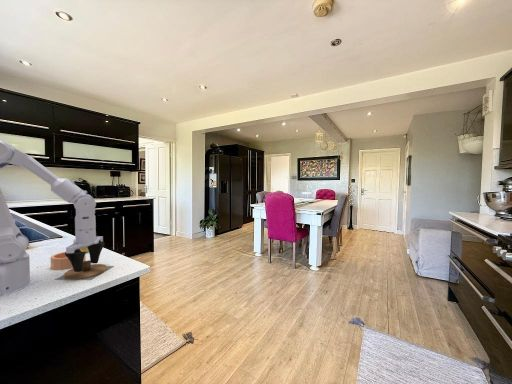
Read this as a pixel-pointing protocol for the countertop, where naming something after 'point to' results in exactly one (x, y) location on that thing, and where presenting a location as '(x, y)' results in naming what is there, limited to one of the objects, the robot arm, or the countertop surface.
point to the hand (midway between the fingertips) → (86, 267)
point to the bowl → (61, 262)
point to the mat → (85, 278)
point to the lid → (86, 271)
